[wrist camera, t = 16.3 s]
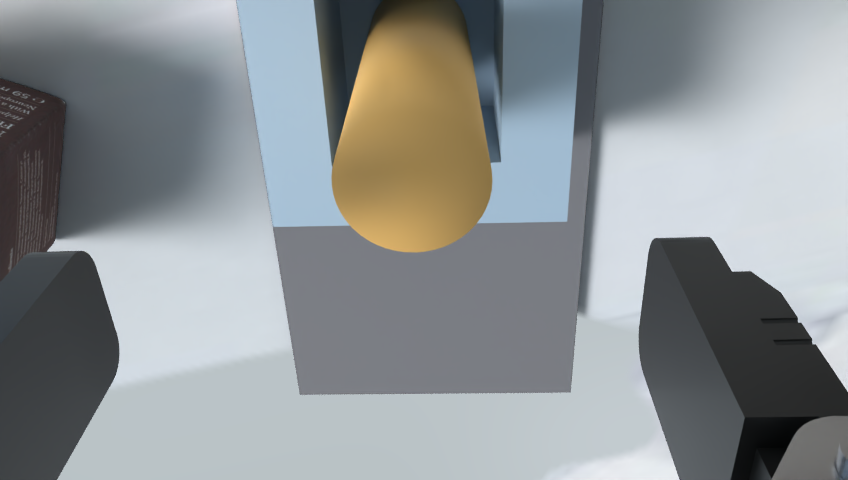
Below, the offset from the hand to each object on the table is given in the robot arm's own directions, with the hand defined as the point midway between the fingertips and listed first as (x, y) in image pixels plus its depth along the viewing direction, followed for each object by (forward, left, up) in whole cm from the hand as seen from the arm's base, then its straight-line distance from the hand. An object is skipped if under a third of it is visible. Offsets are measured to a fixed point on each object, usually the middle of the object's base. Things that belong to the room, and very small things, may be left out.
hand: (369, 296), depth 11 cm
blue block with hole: (0, 0, -14) cm, 14 cm away
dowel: (0, 0, -13) cm, 13 cm away
